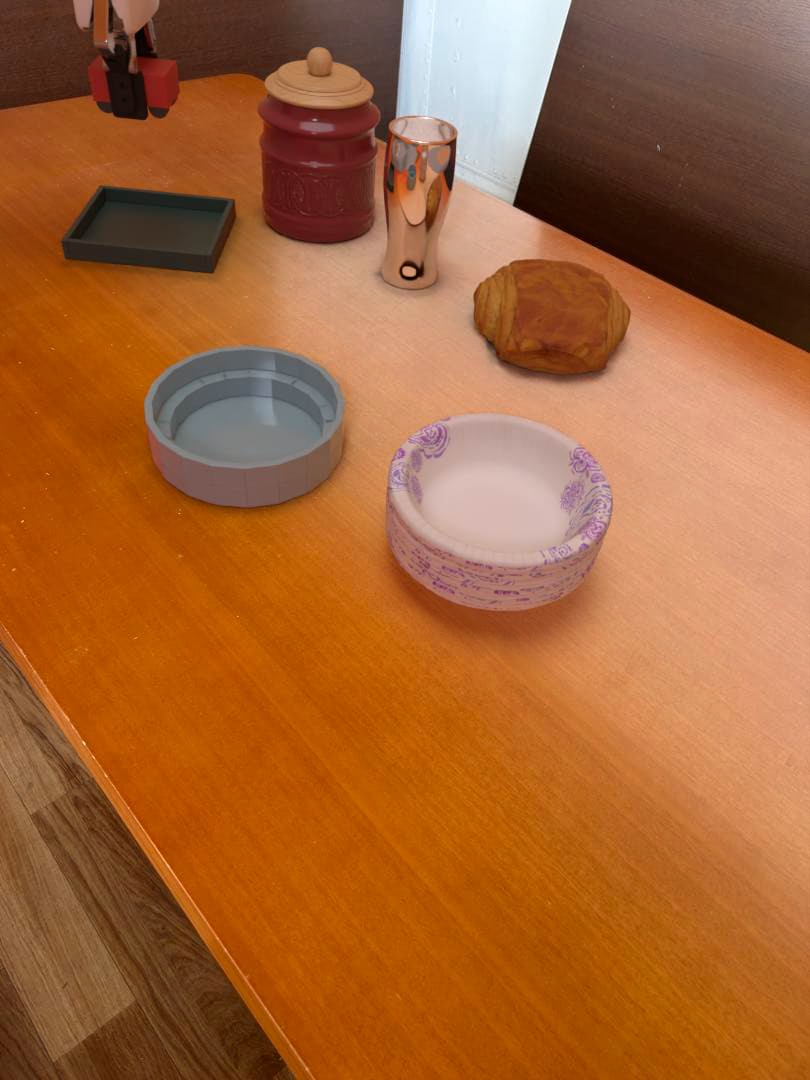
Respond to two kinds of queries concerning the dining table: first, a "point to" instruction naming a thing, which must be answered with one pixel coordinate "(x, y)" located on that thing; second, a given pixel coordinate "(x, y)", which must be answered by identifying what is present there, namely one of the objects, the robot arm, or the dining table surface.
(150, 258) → the tray
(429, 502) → the paper bowls
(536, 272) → the croissant
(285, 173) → the kitchen canister
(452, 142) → the beer glass
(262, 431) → the bowl
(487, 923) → the dining table surface
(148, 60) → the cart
